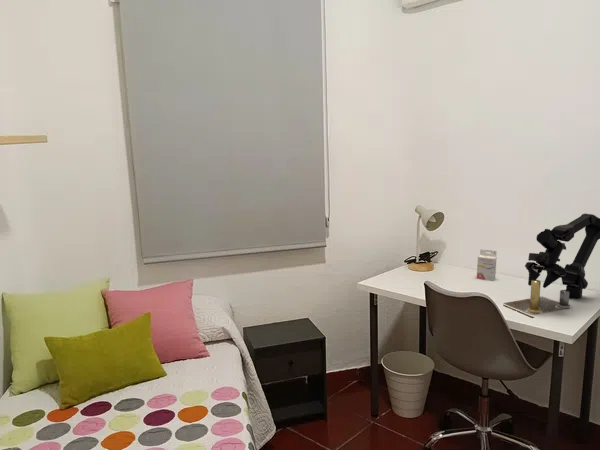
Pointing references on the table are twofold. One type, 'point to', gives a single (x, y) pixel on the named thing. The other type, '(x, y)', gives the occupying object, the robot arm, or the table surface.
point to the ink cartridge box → (486, 265)
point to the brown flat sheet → (529, 306)
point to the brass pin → (535, 297)
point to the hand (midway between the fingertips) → (536, 286)
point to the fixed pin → (564, 300)
